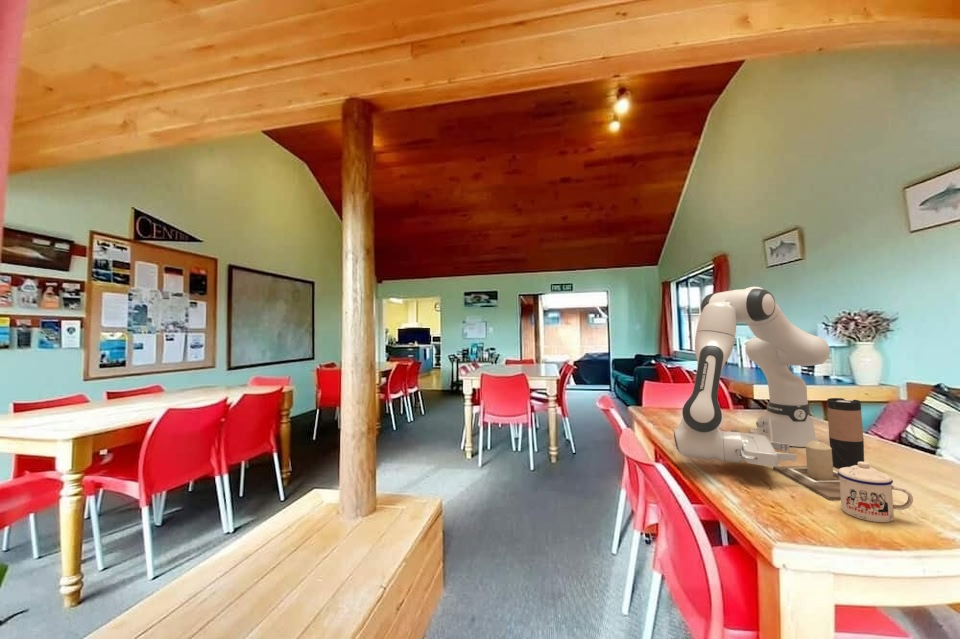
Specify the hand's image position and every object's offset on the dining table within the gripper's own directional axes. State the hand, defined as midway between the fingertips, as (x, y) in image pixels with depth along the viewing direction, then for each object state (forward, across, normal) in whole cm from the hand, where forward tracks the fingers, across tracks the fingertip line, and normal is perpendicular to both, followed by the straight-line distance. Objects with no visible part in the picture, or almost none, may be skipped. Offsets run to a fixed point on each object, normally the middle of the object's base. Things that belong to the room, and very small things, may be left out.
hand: (792, 452), depth 113 cm
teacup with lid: (+11, -19, +8) cm, 24 cm away
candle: (+6, +1, +7) cm, 9 cm away
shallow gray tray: (+6, 0, +7) cm, 10 cm away
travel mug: (+16, +16, +8) cm, 24 cm away
